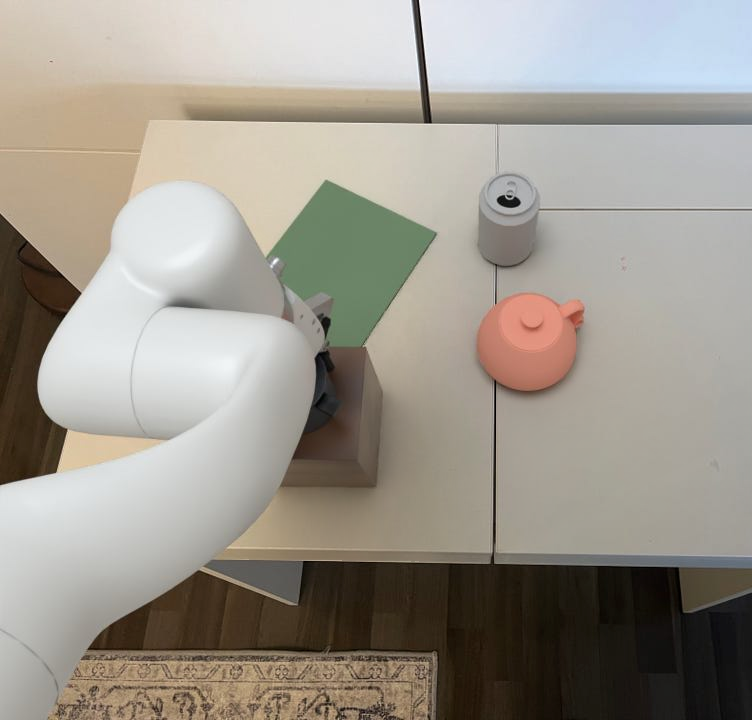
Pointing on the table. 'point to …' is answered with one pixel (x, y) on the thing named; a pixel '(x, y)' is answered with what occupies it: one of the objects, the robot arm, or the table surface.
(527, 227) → the can
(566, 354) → the sugar bowl
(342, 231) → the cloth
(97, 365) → the robot arm
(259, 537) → the table surface
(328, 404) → the pot
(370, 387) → the stand
